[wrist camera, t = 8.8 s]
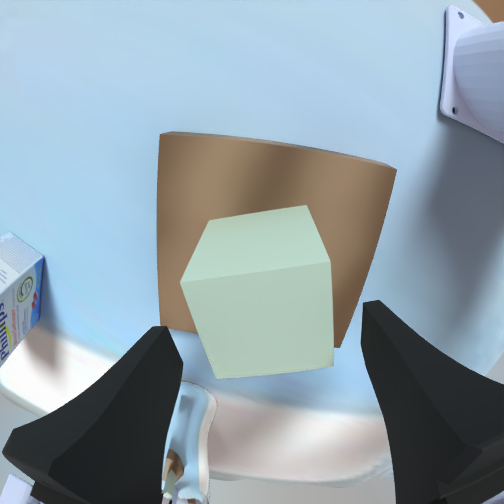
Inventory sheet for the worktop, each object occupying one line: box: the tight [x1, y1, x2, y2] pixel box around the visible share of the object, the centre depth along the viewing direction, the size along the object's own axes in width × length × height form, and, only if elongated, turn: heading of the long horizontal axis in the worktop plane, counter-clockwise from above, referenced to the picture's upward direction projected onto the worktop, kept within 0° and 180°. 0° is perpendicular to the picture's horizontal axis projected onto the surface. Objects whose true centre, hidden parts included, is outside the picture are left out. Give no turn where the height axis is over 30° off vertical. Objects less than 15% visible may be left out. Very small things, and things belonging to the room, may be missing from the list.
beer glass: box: [161, 381, 217, 504], centre depth 19 cm, size 7×7×15 cm
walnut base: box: [157, 132, 397, 348], centre depth 17 cm, size 12×12×2 cm
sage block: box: [180, 205, 334, 379], centre depth 13 cm, size 5×5×6 cm
